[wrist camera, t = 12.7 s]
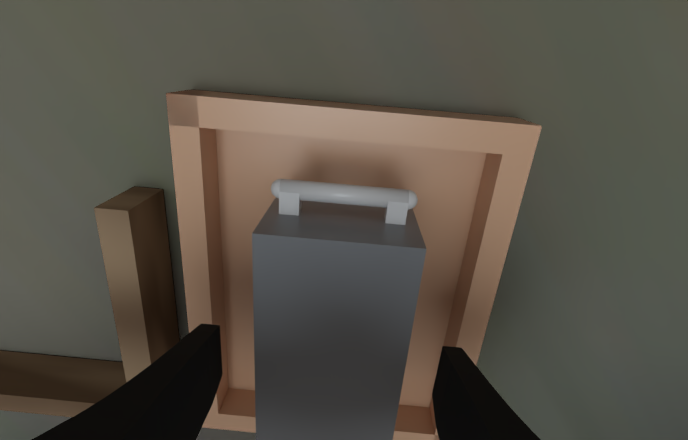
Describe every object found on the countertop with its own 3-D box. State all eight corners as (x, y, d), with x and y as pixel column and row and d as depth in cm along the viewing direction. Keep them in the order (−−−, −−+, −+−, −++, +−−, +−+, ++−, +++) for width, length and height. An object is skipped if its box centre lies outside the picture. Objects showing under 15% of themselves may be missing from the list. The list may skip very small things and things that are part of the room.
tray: (443, 415, 20) (452, 451, 18) (213, 393, 20) (198, 427, 18) (518, 117, 14) (542, 125, 12) (192, 89, 14) (166, 93, 12)
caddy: (380, 370, 18) (386, 476, 13) (283, 361, 18) (256, 464, 13) (409, 164, 14) (432, 213, 10) (287, 154, 14) (251, 197, 10)
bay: (184, 382, 19) (160, 425, 17) (-64, 359, 20) (-121, 398, 17) (163, 189, 15) (128, 210, 13) (-148, 161, 16) (-236, 177, 13)
